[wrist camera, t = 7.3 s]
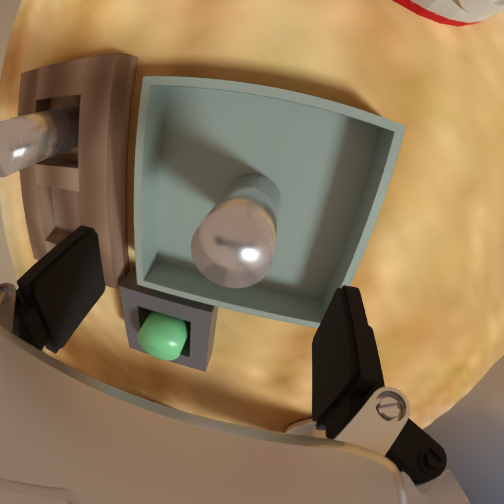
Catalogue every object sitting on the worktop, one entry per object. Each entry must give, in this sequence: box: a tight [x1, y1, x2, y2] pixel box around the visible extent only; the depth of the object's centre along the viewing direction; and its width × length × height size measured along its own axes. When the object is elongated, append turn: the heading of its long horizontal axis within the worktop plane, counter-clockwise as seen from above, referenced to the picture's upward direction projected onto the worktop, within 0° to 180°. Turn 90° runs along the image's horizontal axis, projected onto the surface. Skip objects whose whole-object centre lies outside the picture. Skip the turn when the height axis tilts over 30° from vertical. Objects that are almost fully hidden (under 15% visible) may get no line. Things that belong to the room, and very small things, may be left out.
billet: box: [191, 173, 281, 288], centre depth 17 cm, size 4×4×8 cm
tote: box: [134, 76, 406, 328], centre depth 19 cm, size 16×16×4 cm
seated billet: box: [0, 106, 80, 177], centre depth 15 cm, size 4×4×8 cm
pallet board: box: [18, 53, 138, 288], centre depth 20 cm, size 12×20×3 cm, turn 170°
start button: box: [137, 311, 191, 360], centre depth 26 cm, size 4×4×4 cm
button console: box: [119, 268, 218, 371], centre depth 27 cm, size 9×9×3 cm
